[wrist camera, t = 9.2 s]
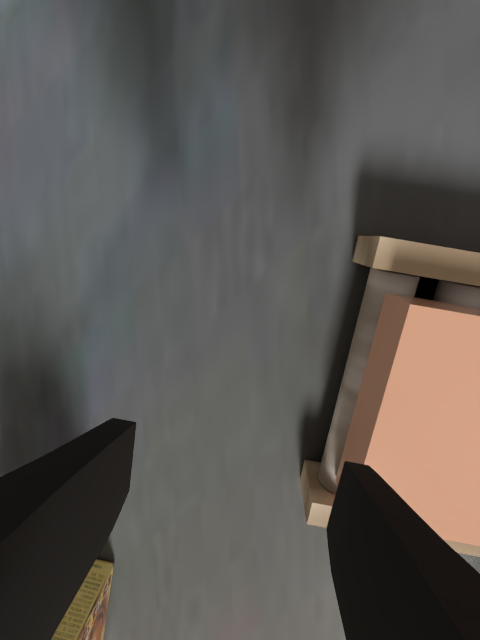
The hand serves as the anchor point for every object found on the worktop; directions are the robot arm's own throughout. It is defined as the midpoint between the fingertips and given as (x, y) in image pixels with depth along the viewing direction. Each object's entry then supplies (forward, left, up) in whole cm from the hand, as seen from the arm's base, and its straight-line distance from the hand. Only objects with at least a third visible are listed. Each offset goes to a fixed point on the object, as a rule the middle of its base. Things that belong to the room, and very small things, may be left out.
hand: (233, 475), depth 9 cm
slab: (0, -10, -7) cm, 12 cm away
